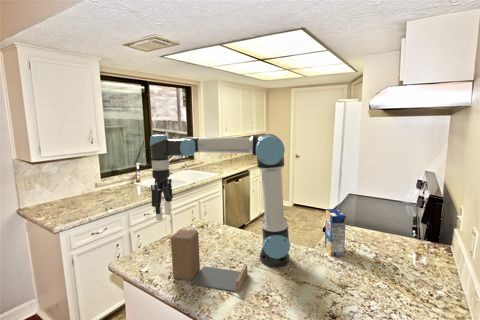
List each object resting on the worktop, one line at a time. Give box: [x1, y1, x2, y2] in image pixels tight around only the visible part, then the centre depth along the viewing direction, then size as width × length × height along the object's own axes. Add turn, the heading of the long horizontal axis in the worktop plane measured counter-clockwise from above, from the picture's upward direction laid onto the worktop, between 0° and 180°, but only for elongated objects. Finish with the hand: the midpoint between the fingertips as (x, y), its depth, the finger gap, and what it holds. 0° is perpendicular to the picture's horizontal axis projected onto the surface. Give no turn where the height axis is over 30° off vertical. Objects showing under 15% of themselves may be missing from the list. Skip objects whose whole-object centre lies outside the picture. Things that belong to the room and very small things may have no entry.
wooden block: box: [170, 229, 201, 281], centre depth 122 cm, size 10×10×20 cm
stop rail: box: [236, 263, 248, 293], centre depth 116 cm, size 1×14×5 cm, turn 164°
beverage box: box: [324, 208, 347, 257], centre depth 141 cm, size 7×11×22 cm, turn 179°
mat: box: [190, 265, 241, 293], centre depth 119 cm, size 21×14×1 cm, turn 74°
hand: (163, 217), depth 123 cm, fingers open, 6 cm apart
